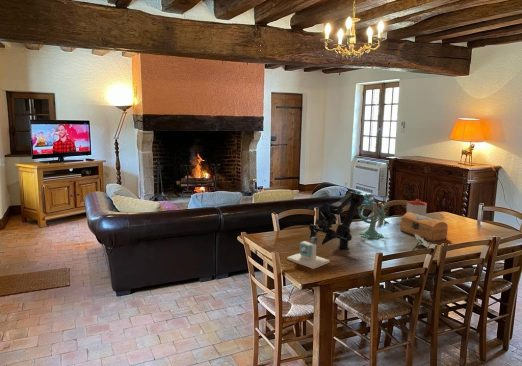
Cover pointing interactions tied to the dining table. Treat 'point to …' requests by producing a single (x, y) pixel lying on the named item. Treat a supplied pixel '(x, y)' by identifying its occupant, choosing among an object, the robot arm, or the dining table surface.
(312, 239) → the grey block
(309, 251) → the spacer
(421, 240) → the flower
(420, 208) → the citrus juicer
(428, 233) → the wooden box
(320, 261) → the white mounting stand
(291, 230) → the dining table surface
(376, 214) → the green tall branching piece
